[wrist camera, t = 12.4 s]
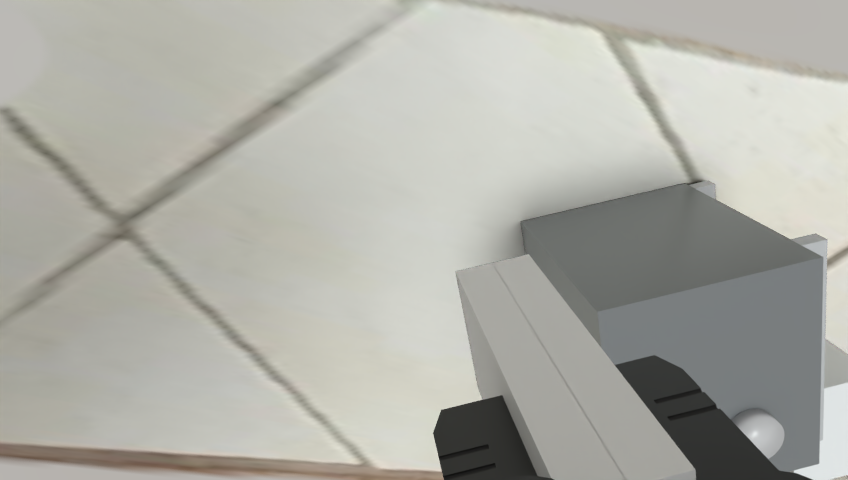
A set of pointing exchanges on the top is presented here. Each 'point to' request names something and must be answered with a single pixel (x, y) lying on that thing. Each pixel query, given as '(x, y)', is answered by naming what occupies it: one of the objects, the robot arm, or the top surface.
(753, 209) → the top surface
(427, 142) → the top surface
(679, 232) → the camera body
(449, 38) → the top surface
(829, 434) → the side door
